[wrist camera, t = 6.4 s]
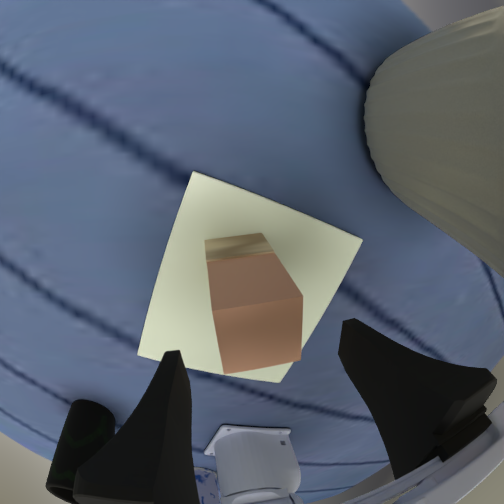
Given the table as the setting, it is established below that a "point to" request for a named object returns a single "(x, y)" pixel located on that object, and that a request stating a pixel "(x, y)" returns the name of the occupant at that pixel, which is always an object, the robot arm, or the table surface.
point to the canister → (446, 130)
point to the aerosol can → (206, 486)
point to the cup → (78, 445)
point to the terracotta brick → (255, 312)
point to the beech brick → (236, 247)
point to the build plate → (196, 274)
